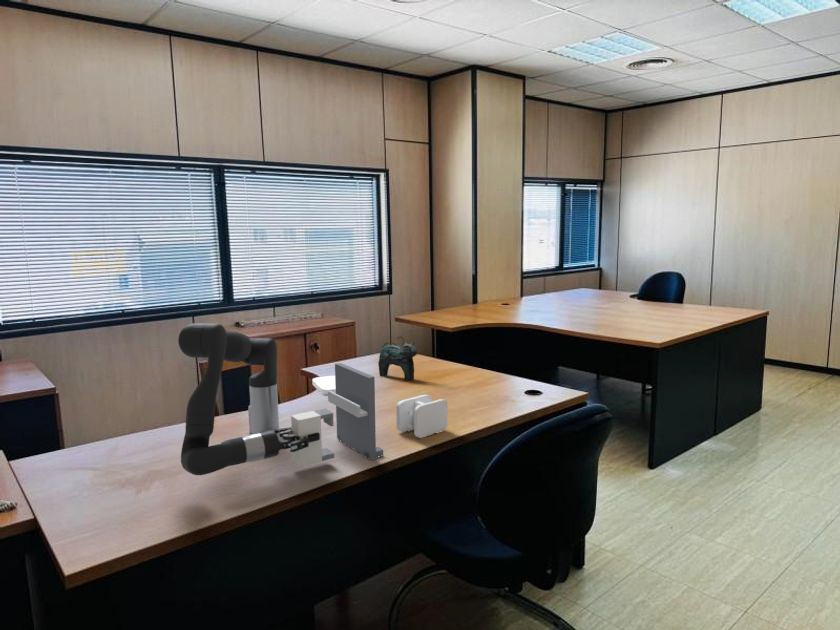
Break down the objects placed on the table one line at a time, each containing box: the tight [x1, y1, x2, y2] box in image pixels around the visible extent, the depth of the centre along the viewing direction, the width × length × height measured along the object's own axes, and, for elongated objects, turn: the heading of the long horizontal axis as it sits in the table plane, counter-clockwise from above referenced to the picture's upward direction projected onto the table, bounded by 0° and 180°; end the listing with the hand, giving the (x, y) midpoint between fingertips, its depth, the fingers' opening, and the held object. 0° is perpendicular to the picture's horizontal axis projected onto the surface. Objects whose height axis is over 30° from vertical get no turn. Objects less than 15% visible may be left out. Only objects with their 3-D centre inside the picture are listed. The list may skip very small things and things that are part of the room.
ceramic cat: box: [378, 336, 418, 382], centre depth 268 cm, size 20×6×20 cm, turn 58°
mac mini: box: [311, 374, 336, 396], centre depth 256 cm, size 22×22×3 cm
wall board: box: [327, 362, 384, 460], centre depth 183 cm, size 22×8×26 cm, turn 35°
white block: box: [290, 408, 335, 468], centre depth 169 cm, size 5×11×14 cm, turn 125°
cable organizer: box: [396, 394, 449, 439], centre depth 198 cm, size 15×11×12 cm
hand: (314, 433), depth 169 cm, fingers closed on white block, 5 cm apart
